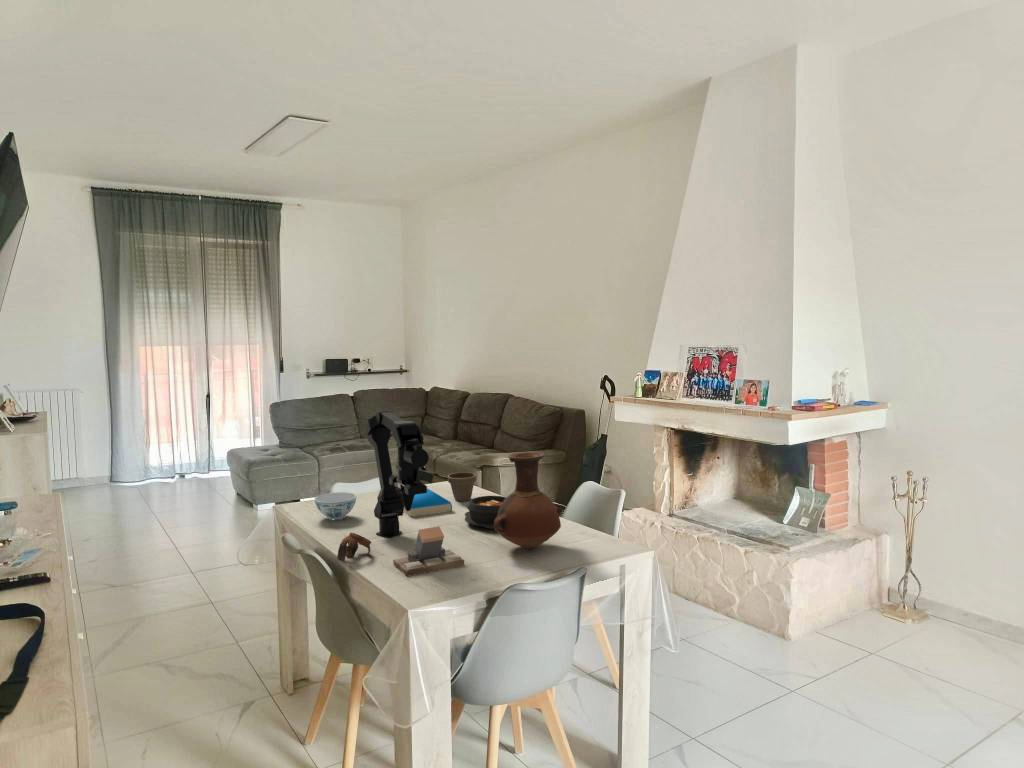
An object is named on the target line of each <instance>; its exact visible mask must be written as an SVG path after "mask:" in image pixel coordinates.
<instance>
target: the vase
mask: <svg viewBox="0 0 1024 768" xmlns="http://www.w3.org/2000/svg"><path fill="white" fill-rule="evenodd" d="M507 457H508V459H509V462H511V463H514V466H515V476H516V477H515V478H516V483H515V488H514V491H513V492H512V493H509V495H507V496H505V497H506V498H505V500H504V501H503V502H502V504H501V506H500V508H499V511H498V515H497V518H496V519H495V520H494V529H493V530H495V532H496V533H497V534H498V535H500V536H501V537H503V539H504V540H506V541H509V542H510V543H512V544H514V545H517V546H520V547H521V548H524V549H527V550H533V549H536V548H537V547H539V546H541V545H542V544H544V543H545V542H547V541H548V540H550V539H551V538H552V537H553V536H554V535H556V534H557V533H558V531H559V530H560V529H561V527H562V524H561V520H560V519H561V518H560V516H561V509H560V508H559V507H558V506H556V505H555V503H554V501H553V500H552V499H551V498H550V497H549V496H548V495H547V494H546V493H544V492H543V491H541V490H540V489H539V485H538V473H539V462H540V460H541V459H543V458H544V457H545V453H542V452H538V451H524V452H523V451H522V452H515V453H514V452H513V453H511V454H509V455H508V456H507Z"/></svg>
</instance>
